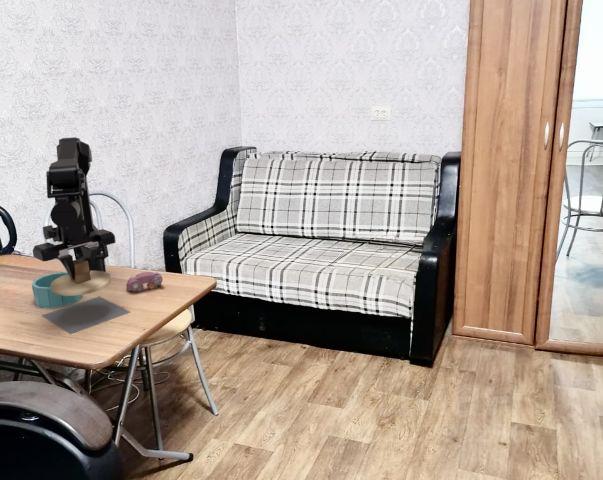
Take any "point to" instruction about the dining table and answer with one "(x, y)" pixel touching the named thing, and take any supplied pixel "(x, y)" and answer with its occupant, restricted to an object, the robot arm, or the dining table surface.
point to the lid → (80, 280)
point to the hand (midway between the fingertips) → (80, 277)
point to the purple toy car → (144, 281)
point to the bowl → (50, 292)
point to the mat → (85, 314)
